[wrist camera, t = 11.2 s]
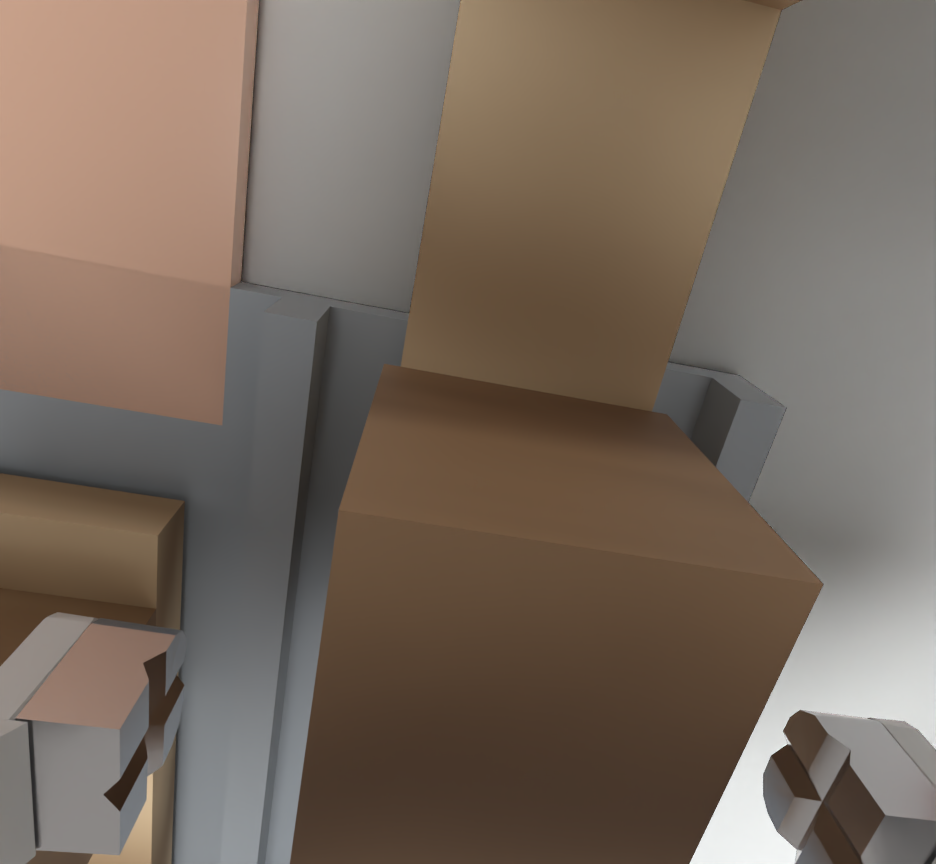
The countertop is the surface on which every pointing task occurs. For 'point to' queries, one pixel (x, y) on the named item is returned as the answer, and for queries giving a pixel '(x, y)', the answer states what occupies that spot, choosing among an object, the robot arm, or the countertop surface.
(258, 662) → the lane board
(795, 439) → the countertop surface
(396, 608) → the walnut block
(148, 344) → the coaster
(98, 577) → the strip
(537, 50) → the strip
